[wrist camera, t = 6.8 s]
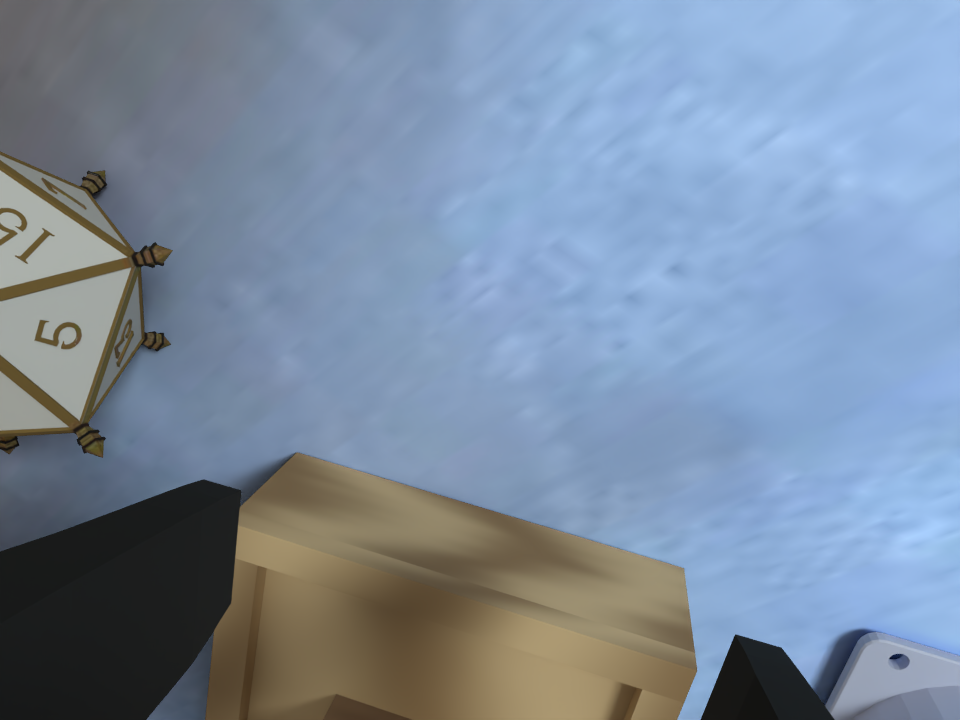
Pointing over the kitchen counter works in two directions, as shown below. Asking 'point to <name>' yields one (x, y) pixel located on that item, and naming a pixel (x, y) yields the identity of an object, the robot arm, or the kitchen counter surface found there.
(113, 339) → the game die
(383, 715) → the walnut cube
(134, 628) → the robot arm
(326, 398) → the kitchen counter surface
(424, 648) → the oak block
